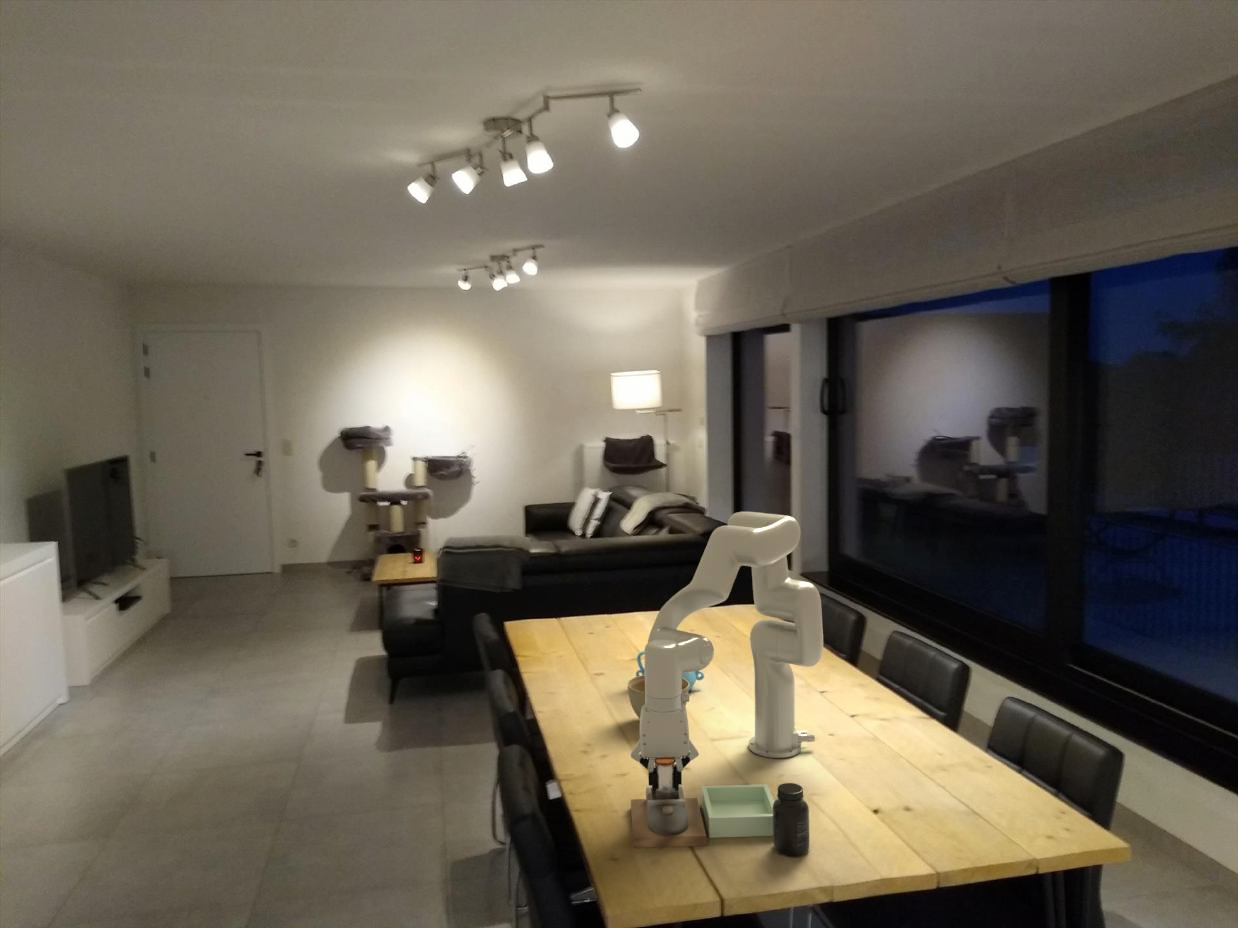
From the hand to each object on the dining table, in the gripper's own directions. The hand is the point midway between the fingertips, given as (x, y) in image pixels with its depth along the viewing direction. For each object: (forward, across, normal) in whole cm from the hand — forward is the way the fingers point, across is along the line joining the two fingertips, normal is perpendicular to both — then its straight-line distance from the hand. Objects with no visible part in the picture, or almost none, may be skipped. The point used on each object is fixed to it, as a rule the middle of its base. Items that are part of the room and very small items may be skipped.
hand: (665, 786), depth 184 cm
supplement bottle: (+7, -23, +14) cm, 28 cm away
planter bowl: (+7, -2, -51) cm, 51 cm away
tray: (+6, -15, +2) cm, 16 cm away
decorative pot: (+7, -7, -78) cm, 79 cm away
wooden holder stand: (+6, 0, +4) cm, 7 cm away
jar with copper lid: (+4, 0, 0) cm, 4 cm away
